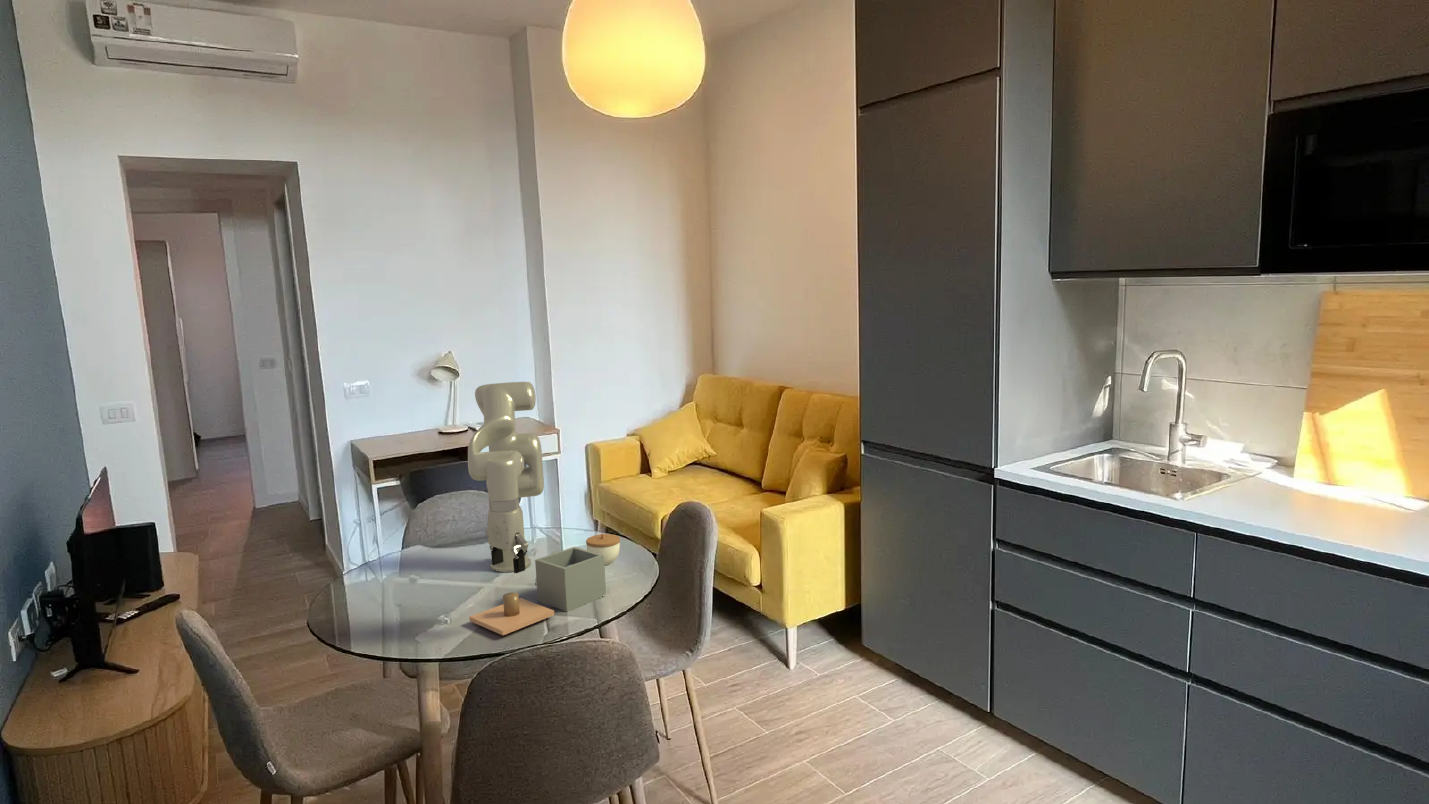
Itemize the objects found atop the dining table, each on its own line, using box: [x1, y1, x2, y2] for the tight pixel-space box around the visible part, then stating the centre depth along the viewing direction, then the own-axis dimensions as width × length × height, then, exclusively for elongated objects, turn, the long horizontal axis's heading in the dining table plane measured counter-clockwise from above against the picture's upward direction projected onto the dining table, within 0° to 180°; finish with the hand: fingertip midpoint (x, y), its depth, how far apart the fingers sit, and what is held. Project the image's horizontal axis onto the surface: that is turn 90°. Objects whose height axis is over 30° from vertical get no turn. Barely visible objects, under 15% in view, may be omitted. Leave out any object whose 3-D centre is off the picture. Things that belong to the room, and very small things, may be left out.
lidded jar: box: [585, 533, 621, 566], centre depth 254 cm, size 11×11×9 cm
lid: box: [469, 592, 555, 636], centre depth 210 cm, size 15×16×7 cm
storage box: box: [534, 546, 607, 612], centre depth 224 cm, size 13×14×12 cm
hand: (508, 567), depth 209 cm, fingers open, 9 cm apart
